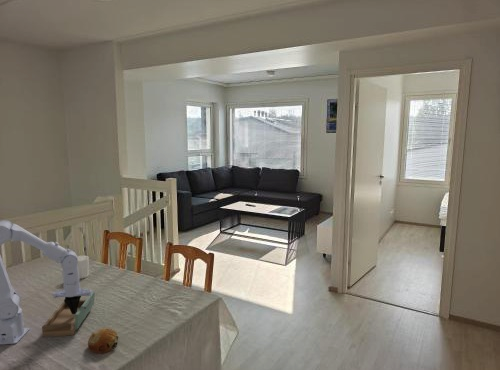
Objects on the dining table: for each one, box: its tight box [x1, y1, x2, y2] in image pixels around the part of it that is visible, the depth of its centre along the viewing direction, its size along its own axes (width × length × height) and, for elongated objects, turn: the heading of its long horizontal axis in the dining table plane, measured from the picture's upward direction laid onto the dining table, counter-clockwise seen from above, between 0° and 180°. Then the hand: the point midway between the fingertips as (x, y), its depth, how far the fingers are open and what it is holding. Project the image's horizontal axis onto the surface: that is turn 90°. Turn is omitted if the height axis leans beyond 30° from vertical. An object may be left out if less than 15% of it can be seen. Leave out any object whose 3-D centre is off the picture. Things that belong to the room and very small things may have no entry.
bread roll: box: [87, 327, 119, 355], centre depth 125 cm, size 10×10×8 cm
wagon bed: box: [41, 299, 92, 338], centre depth 140 cm, size 20×11×4 cm, turn 6°
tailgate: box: [75, 290, 96, 330], centre depth 141 cm, size 19×2×6 cm, turn 6°
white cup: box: [77, 255, 90, 280], centre depth 183 cm, size 8×8×10 cm
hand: (74, 312), depth 140 cm, fingers closed
